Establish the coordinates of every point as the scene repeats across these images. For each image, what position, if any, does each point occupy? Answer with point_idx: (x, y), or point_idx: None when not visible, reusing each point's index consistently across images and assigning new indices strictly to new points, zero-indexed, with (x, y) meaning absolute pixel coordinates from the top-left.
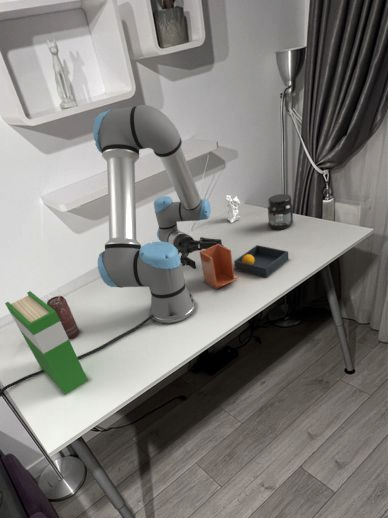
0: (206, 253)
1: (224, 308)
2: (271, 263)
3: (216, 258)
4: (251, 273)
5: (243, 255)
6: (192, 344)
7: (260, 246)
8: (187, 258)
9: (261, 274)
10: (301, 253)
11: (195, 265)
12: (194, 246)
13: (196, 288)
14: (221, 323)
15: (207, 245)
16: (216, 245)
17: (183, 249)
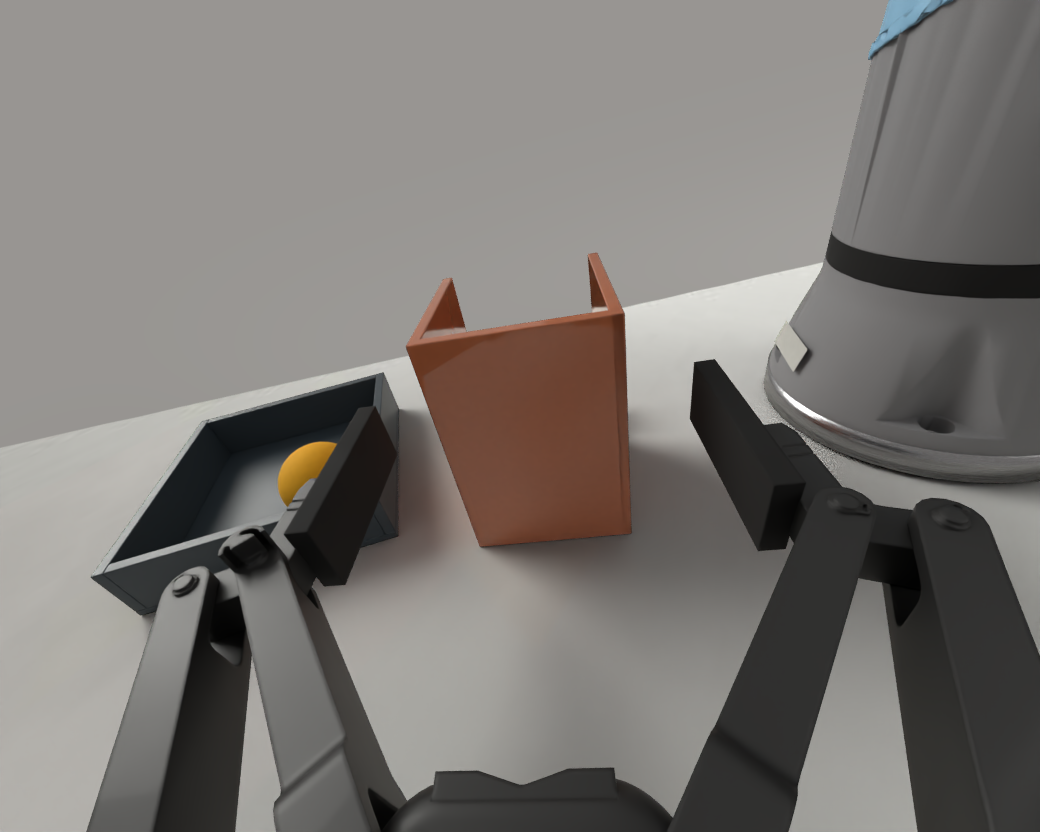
0: (560, 351)
1: (647, 344)
2: (333, 386)
3: (485, 433)
4: (397, 453)
5: (281, 513)
6: (809, 278)
7: (123, 541)
8: (761, 432)
9: (395, 413)
10: (153, 468)
11: (695, 392)
12: (491, 777)
13: (716, 501)
14: (690, 307)
15: (329, 660)
16: (437, 337)
17: (790, 783)
